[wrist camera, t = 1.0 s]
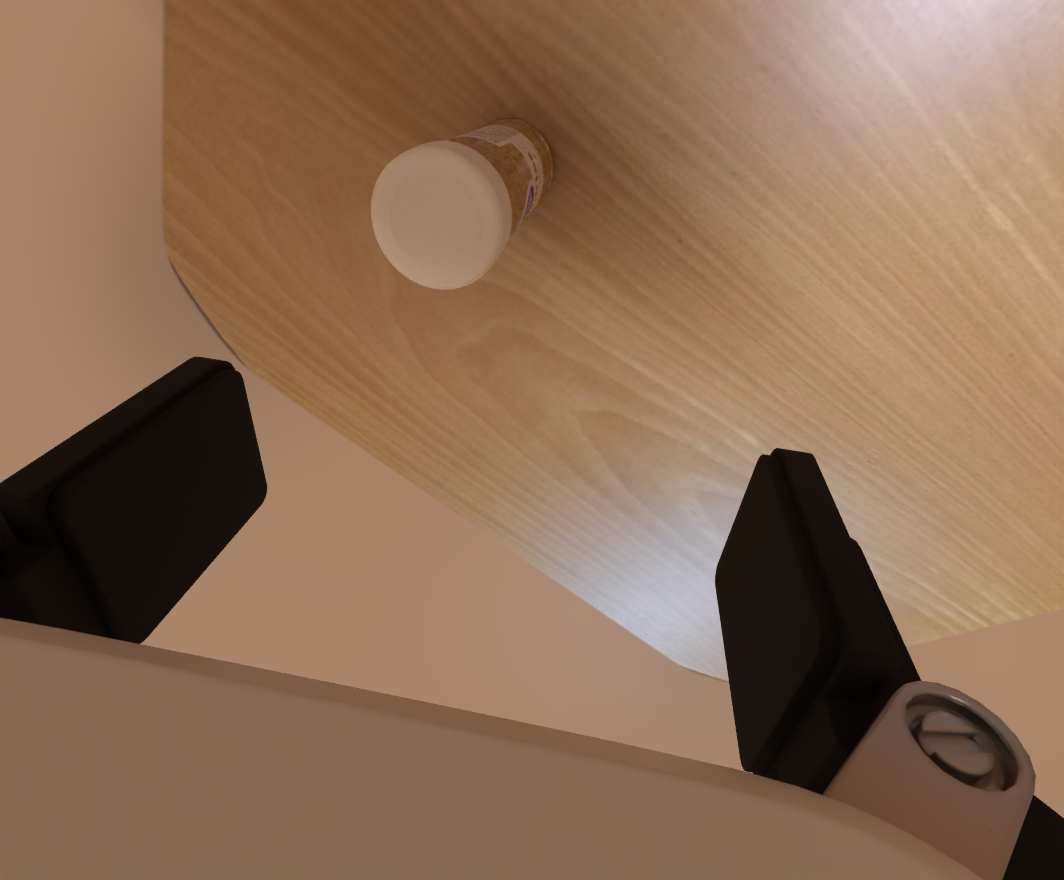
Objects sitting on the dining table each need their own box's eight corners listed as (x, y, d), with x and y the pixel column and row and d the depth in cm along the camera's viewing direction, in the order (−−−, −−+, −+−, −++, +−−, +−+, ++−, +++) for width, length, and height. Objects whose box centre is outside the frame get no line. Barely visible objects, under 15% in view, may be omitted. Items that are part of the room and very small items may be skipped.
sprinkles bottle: (552, 215, 31) (500, 300, 20) (469, 208, 31) (374, 287, 20) (558, 118, 28) (503, 152, 17) (468, 112, 29) (357, 141, 17)
